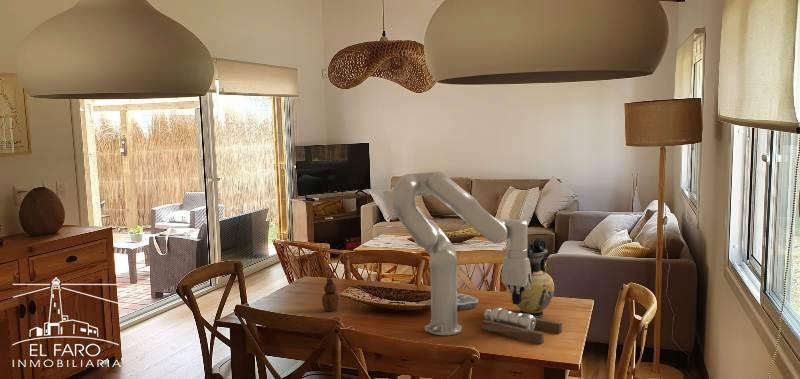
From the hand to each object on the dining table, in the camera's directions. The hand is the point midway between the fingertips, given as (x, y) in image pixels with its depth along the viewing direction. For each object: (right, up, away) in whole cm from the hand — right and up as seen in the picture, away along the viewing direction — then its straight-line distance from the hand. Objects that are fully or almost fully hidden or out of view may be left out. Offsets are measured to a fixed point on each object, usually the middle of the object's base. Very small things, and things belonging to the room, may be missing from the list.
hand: (516, 303), depth 235 cm
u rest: (+2, -10, 0) cm, 10 cm away
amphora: (+9, -8, +19) cm, 23 cm away
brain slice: (-20, -7, +34) cm, 40 cm away
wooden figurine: (-71, -9, +30) cm, 78 cm away
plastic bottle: (+5, -7, -5) cm, 10 cm away
